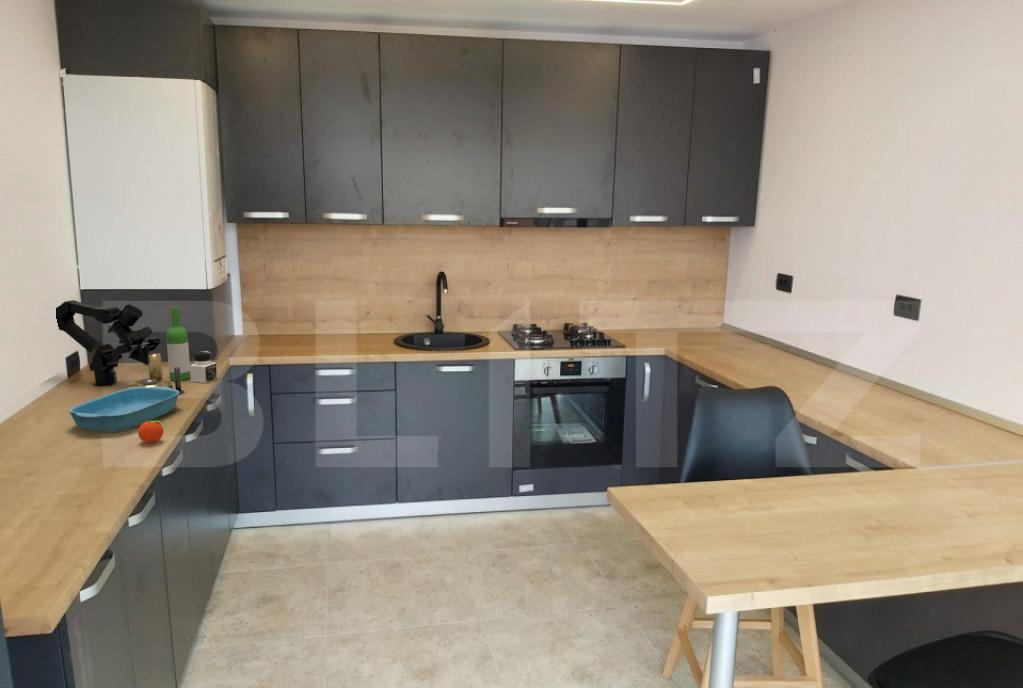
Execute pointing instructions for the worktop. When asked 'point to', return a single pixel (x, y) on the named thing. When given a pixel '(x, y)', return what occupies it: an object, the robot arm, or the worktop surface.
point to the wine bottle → (178, 347)
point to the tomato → (150, 431)
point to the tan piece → (152, 374)
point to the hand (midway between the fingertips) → (150, 364)
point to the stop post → (178, 380)
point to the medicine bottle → (203, 368)
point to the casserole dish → (124, 408)
